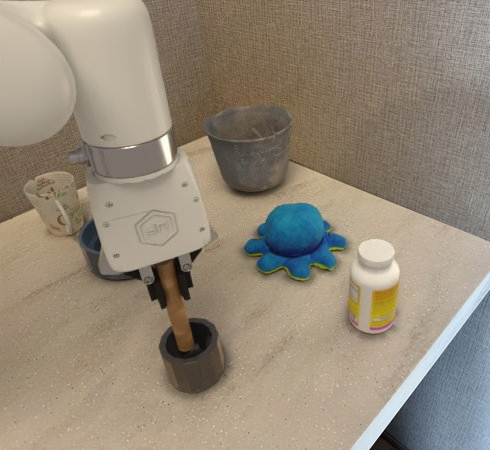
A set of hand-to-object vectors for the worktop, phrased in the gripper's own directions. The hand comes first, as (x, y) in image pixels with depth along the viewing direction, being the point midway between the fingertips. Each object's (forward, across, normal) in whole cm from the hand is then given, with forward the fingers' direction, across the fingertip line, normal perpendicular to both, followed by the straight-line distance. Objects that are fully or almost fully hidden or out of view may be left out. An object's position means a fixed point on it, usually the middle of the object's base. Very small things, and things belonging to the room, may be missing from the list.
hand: (172, 295), depth 50 cm
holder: (+14, +1, 0) cm, 14 cm away
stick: (+9, 0, 0) cm, 9 cm away
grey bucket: (+14, +26, +39) cm, 49 cm away
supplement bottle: (+14, +26, -4) cm, 29 cm away
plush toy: (+14, +24, +16) cm, 32 cm away
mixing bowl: (+14, -2, +29) cm, 32 cm away
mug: (+14, -11, +42) cm, 46 cm away
